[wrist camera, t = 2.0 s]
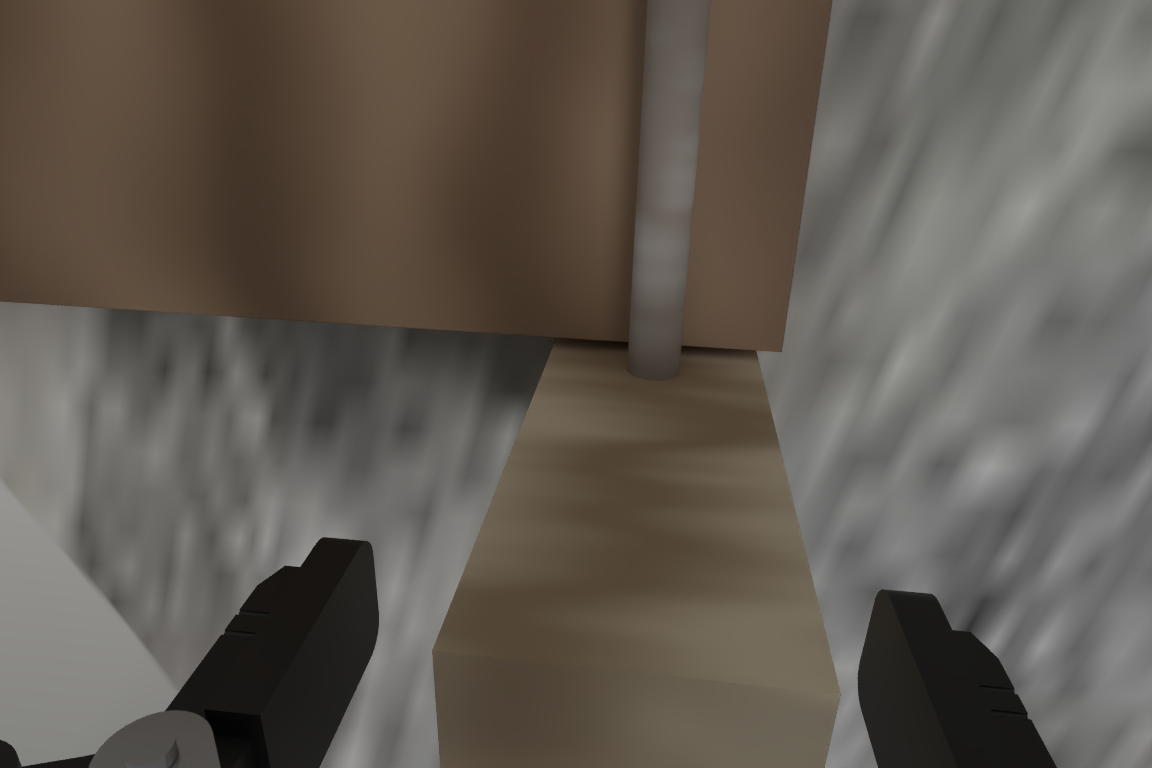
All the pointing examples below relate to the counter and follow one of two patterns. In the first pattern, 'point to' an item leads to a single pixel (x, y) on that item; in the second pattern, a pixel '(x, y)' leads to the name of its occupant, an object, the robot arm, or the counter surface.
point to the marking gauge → (642, 527)
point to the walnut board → (393, 161)
